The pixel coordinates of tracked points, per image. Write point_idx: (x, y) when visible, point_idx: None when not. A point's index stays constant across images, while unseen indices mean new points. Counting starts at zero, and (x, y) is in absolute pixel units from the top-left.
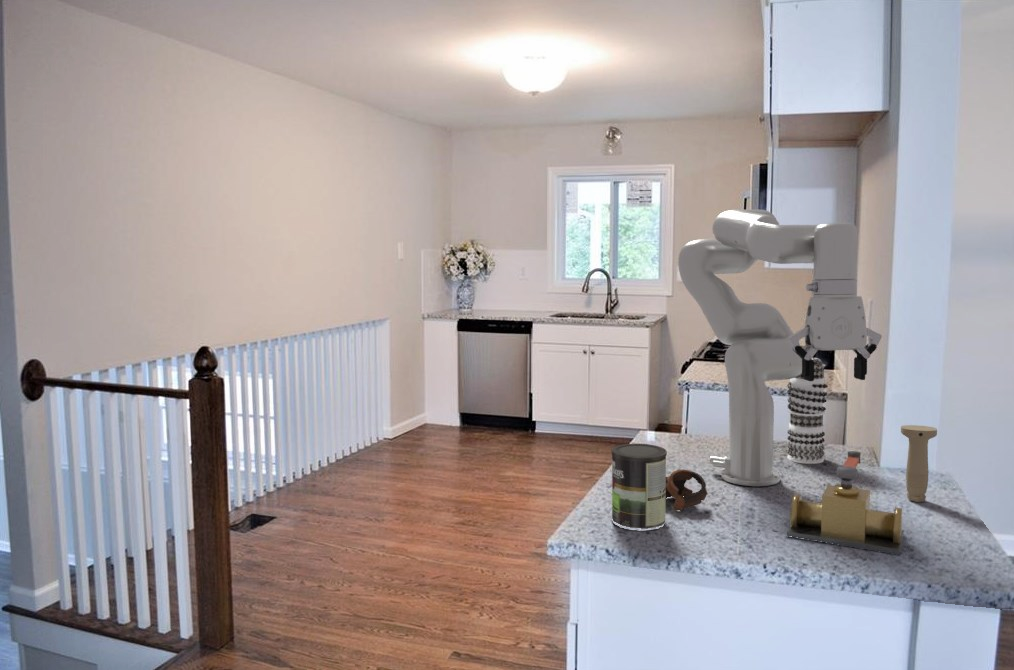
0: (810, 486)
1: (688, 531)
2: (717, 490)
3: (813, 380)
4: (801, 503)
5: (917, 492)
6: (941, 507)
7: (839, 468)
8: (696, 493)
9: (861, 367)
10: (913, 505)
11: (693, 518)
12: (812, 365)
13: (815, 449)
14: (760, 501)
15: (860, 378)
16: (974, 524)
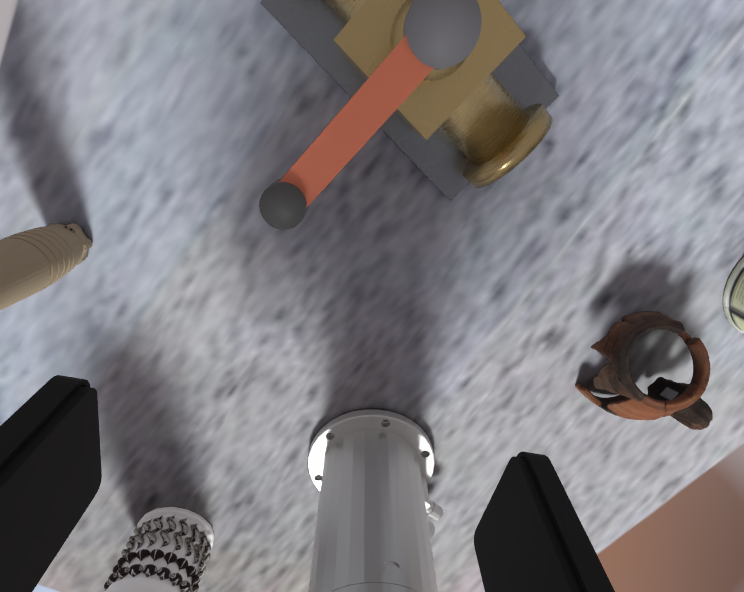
0: (270, 387)
1: (733, 200)
2: (485, 413)
3: (513, 458)
4: (515, 126)
5: (63, 230)
6: (34, 177)
7: (470, 37)
8: (655, 324)
9: (14, 470)
10: (100, 210)
11: (660, 273)
12: (591, 585)
13: (156, 537)
14: (443, 331)
15: (92, 398)
16: (13, 29)
